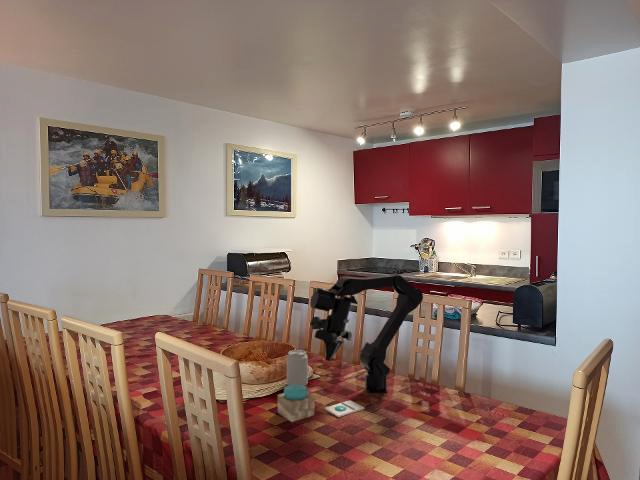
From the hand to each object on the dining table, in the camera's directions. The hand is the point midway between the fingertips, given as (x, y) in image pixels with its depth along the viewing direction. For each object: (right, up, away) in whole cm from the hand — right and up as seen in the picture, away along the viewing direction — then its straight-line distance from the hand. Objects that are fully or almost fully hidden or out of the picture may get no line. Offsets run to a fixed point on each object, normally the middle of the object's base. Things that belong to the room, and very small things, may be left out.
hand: (327, 360), depth 150 cm
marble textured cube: (-10, -13, -12) cm, 20 cm away
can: (-11, -12, +12) cm, 20 cm away
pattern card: (+5, -13, -9) cm, 16 cm away
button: (-10, -10, -12) cm, 19 cm away
